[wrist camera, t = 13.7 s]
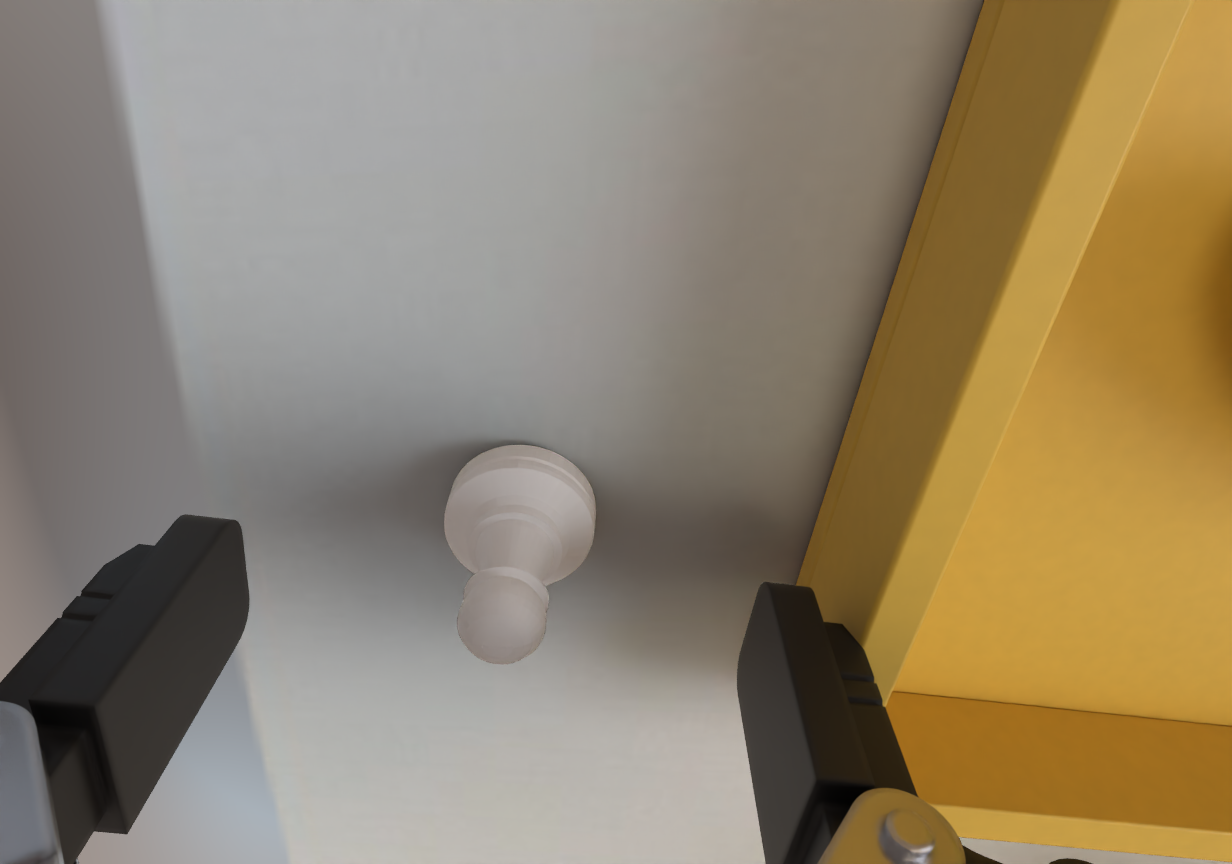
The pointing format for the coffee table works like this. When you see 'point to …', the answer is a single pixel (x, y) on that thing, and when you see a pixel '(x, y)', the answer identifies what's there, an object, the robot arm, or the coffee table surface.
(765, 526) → the coffee table surface
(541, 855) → the coffee table surface
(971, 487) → the yellow tray
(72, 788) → the robot arm
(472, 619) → the chess pawn
